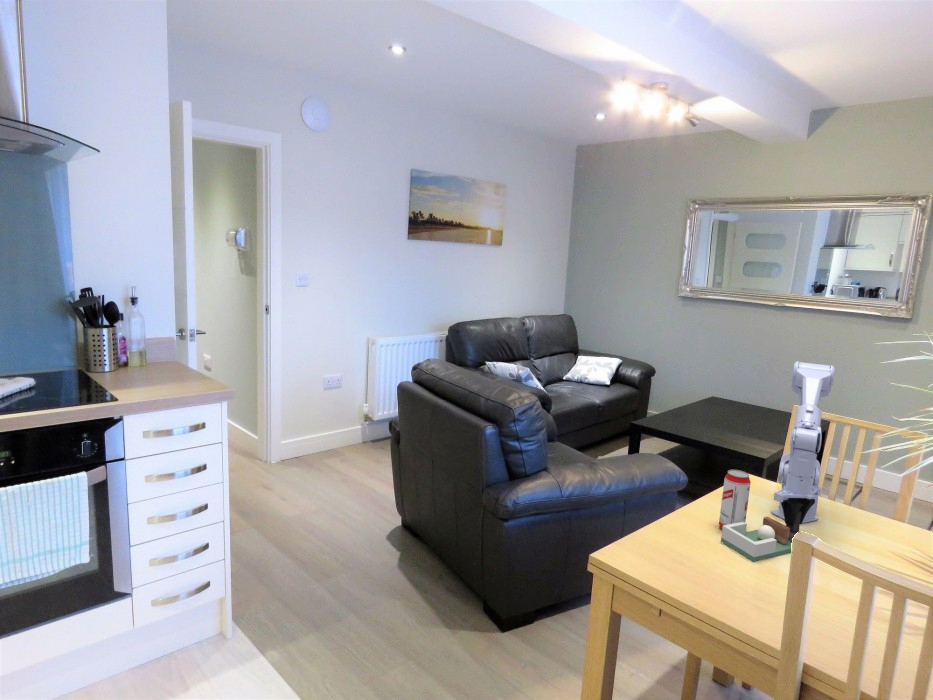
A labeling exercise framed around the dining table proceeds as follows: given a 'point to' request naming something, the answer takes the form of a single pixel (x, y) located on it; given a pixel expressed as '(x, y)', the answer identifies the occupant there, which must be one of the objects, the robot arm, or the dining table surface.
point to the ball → (765, 532)
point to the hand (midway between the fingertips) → (793, 523)
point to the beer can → (734, 498)
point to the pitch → (752, 543)
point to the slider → (783, 528)
